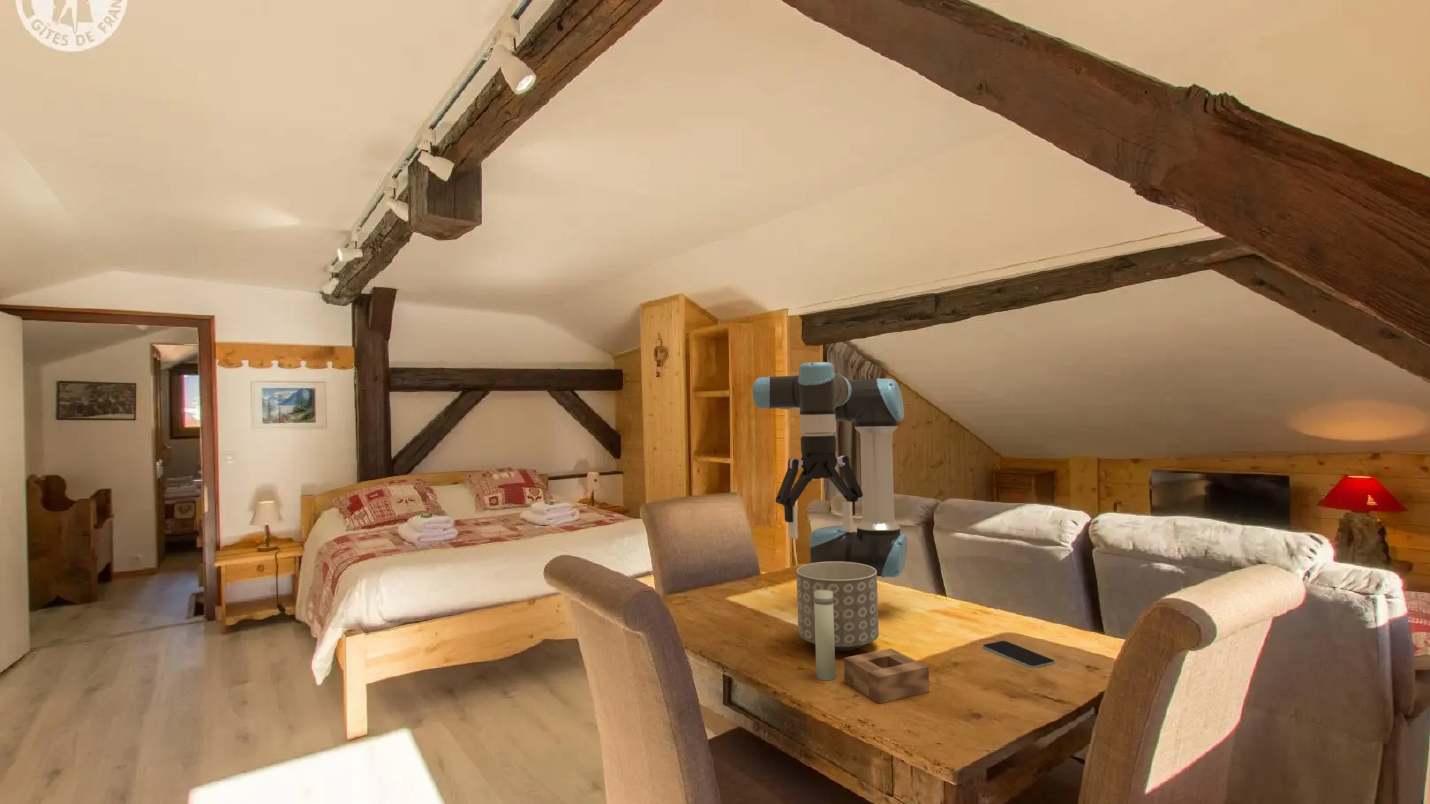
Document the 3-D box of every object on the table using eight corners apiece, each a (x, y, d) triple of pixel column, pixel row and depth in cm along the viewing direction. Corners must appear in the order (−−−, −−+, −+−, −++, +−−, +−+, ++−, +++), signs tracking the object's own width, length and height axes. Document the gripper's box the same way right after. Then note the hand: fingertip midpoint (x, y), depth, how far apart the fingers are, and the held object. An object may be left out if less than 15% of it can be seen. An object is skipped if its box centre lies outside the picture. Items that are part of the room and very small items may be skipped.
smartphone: (1032, 666, 149) (980, 645, 162) (1032, 671, 149) (980, 648, 162) (1057, 660, 151) (1004, 639, 165) (1057, 665, 151) (1004, 643, 165)
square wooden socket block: (891, 671, 149) (890, 648, 149) (929, 691, 138) (928, 666, 138) (844, 681, 145) (843, 657, 145) (879, 703, 134) (878, 677, 134)
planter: (830, 666, 154) (828, 584, 154) (783, 641, 170) (781, 567, 171) (896, 650, 162) (893, 572, 162) (845, 628, 179) (843, 558, 179)
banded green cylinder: (829, 671, 150) (826, 588, 150) (839, 678, 146) (836, 593, 147) (812, 675, 149) (810, 591, 149) (822, 682, 145) (820, 595, 145)
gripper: (856, 432, 156) (859, 526, 156) (757, 436, 147) (760, 537, 146) (877, 432, 149) (880, 531, 149) (774, 437, 140) (777, 543, 139)
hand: (821, 534), depth 148 cm, fingers open, 13 cm apart
